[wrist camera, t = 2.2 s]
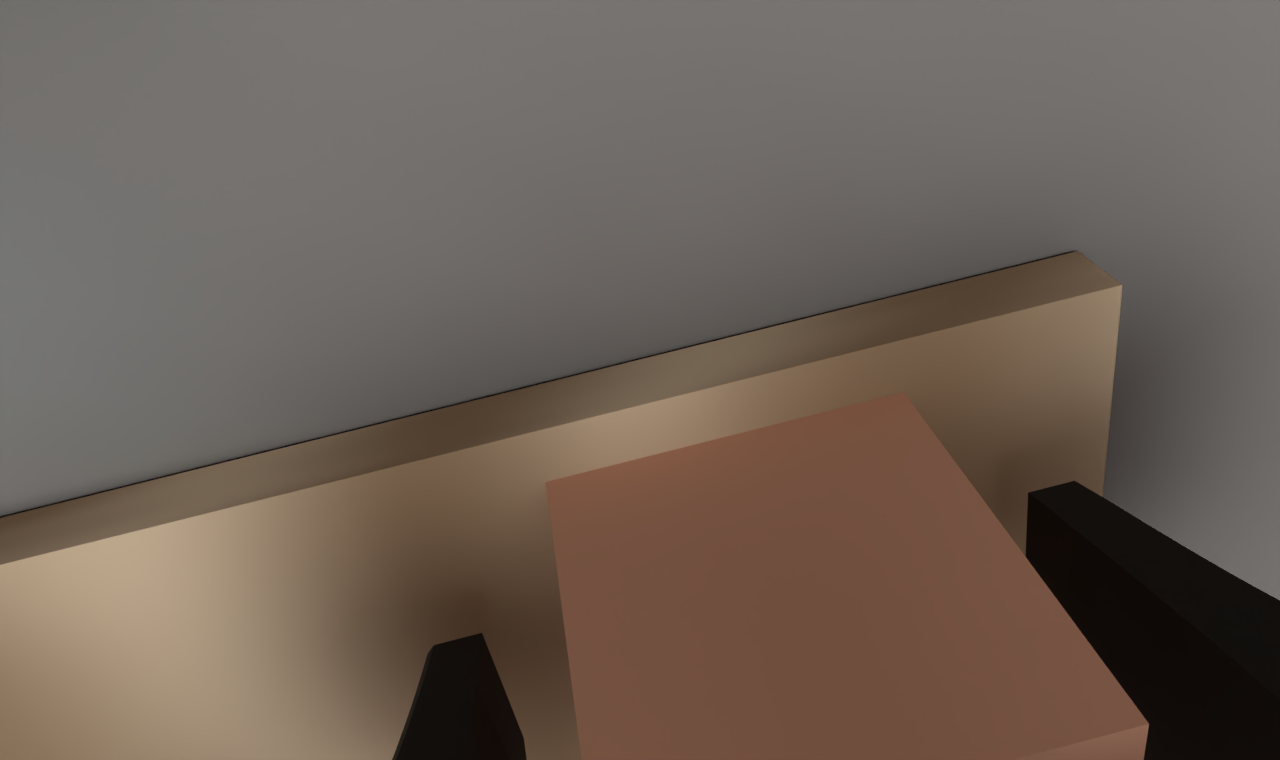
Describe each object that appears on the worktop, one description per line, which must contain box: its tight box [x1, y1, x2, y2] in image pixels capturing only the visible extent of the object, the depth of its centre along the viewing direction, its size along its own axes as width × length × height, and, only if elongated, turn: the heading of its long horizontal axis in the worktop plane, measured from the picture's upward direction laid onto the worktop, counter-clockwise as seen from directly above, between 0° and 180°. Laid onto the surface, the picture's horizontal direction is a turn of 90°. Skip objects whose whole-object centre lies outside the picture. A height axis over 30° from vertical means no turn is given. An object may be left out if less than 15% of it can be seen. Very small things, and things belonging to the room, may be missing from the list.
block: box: [546, 392, 1149, 760], centre depth 11 cm, size 4×4×5 cm
